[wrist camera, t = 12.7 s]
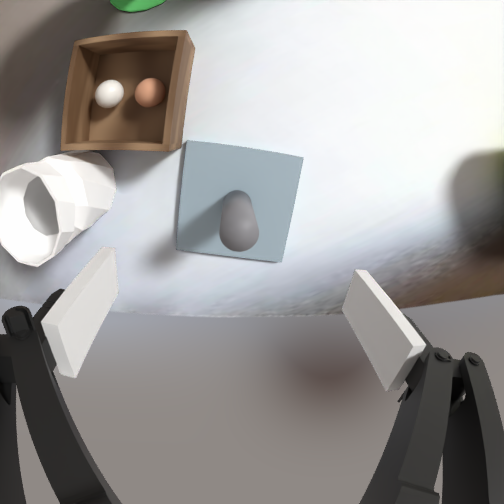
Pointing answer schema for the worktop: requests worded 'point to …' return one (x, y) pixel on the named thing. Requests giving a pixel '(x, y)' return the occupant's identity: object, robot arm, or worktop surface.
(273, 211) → the lid
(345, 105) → the worktop surface
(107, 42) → the box
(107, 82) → the ball
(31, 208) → the white vase
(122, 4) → the cup
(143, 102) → the ball
